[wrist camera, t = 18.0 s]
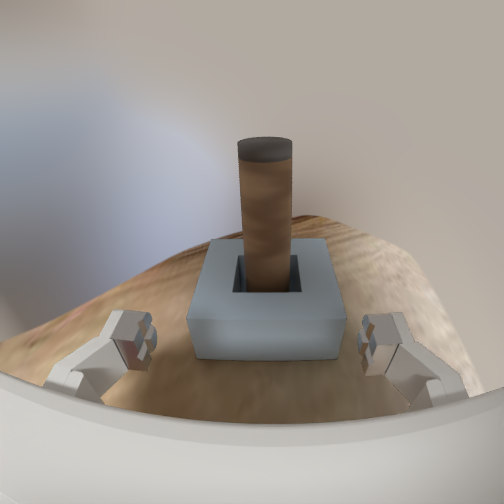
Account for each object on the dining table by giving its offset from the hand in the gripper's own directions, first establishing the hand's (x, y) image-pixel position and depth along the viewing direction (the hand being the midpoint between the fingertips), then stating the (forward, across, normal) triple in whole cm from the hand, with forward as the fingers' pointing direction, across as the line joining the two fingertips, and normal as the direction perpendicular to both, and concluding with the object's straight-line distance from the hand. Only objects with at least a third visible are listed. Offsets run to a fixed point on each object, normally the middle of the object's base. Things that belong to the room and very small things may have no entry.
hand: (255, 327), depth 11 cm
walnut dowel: (+12, 0, +11) cm, 16 cm away
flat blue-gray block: (+12, 0, +11) cm, 16 cm away
